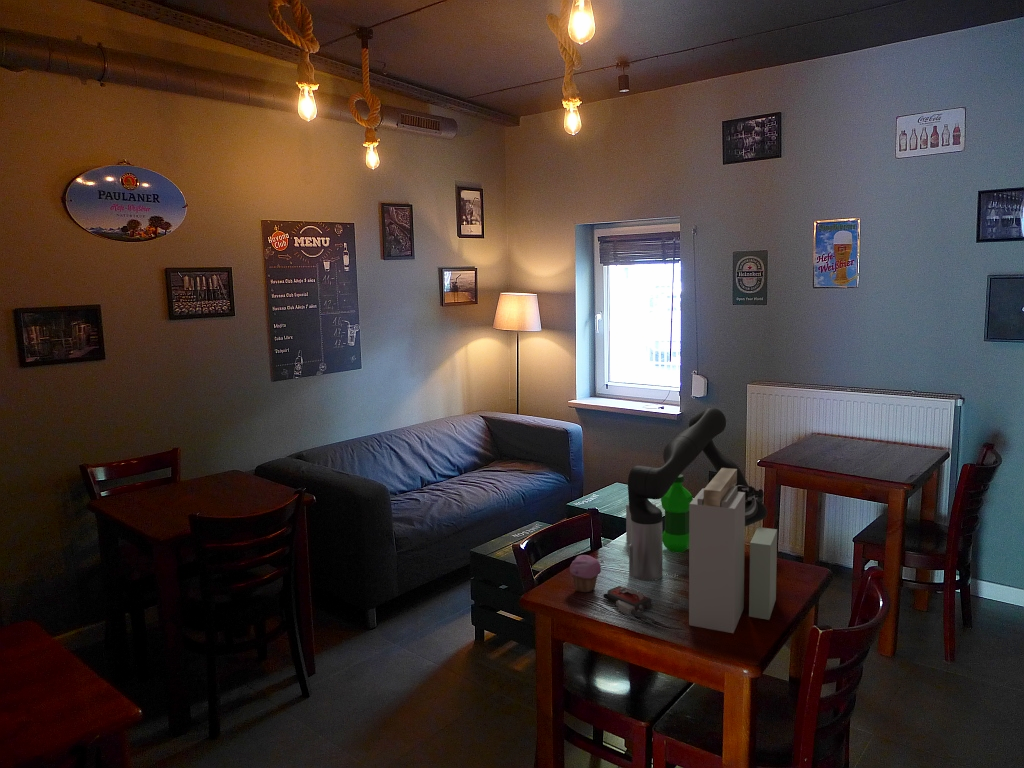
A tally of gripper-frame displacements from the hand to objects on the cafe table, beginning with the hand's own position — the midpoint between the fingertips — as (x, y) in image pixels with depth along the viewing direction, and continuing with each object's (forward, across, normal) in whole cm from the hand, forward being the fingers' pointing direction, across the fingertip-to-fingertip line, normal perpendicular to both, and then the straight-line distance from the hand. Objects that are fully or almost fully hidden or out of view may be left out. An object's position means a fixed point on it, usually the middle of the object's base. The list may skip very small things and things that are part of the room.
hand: (734, 487), depth 204 cm
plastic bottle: (-32, -22, +15) cm, 41 cm away
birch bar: (+18, 0, +6) cm, 20 cm away
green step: (-2, +10, +32) cm, 33 cm away
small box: (-34, -34, +14) cm, 51 cm away
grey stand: (+6, 0, +36) cm, 37 cm away
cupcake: (+4, -38, +35) cm, 52 cm away
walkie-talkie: (+9, -21, +38) cm, 45 cm away
